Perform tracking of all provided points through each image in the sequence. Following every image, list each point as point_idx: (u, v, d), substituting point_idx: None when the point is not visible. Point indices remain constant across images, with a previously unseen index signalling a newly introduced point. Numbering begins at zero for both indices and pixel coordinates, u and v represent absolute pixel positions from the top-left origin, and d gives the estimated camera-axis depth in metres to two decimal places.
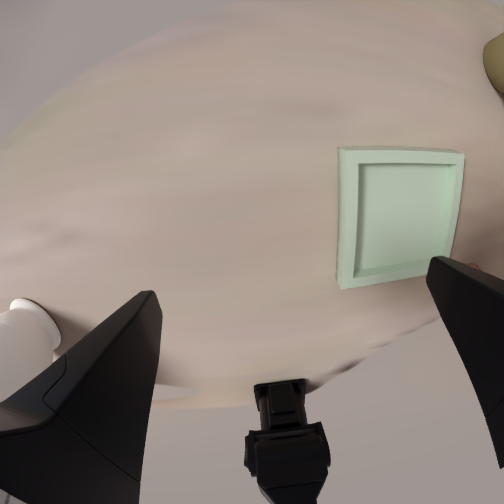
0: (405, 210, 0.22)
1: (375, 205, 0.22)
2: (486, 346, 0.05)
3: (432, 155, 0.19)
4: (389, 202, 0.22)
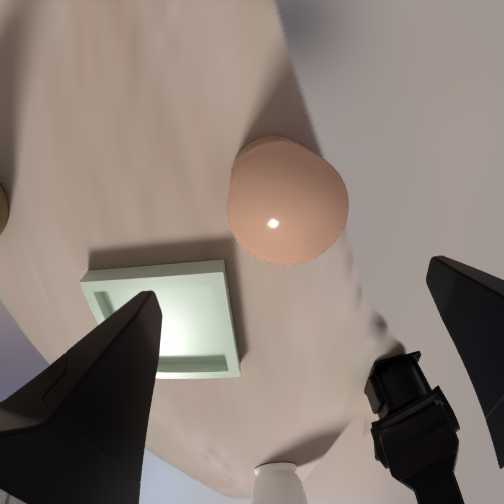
0: None
1: (162, 349, 0.25)
2: (486, 346, 0.05)
3: (99, 319, 0.22)
4: None
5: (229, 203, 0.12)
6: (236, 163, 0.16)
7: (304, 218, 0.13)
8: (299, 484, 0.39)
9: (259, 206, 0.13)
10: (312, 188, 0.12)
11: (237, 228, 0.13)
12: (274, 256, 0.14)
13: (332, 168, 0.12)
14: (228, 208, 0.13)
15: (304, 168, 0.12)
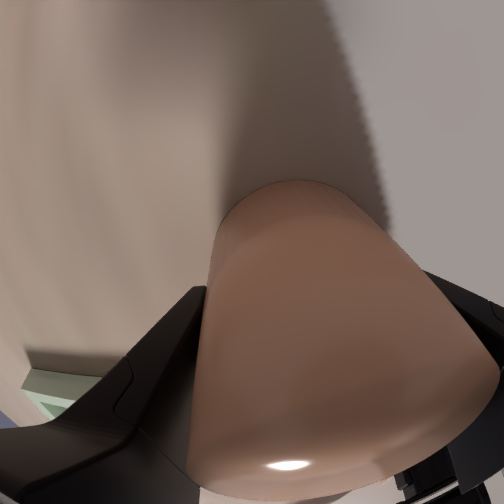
0: None
1: None
2: None
3: None
4: None
5: (191, 473, 0.03)
6: (214, 273, 0.06)
7: (383, 461, 0.04)
8: None
9: (277, 473, 0.03)
10: (428, 423, 0.03)
11: (221, 489, 0.04)
12: (303, 496, 0.05)
13: (496, 372, 0.03)
14: (191, 475, 0.03)
15: (432, 400, 0.03)
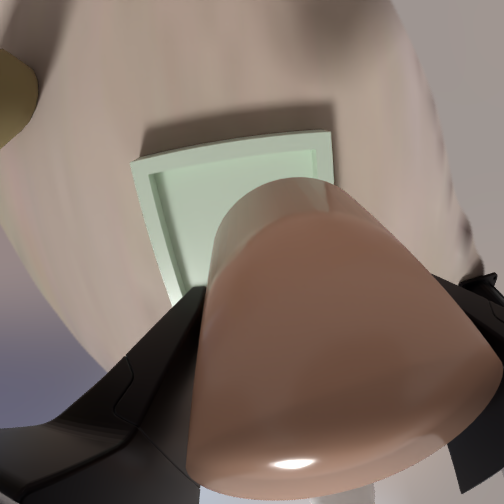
0: None
1: None
2: None
3: (149, 221, 0.17)
4: None
5: (191, 471, 0.03)
6: (214, 270, 0.06)
7: (385, 459, 0.04)
8: None
9: (278, 472, 0.03)
10: (432, 420, 0.03)
11: (221, 487, 0.04)
12: (304, 495, 0.05)
13: (499, 368, 0.03)
14: (191, 473, 0.03)
15: (436, 395, 0.03)
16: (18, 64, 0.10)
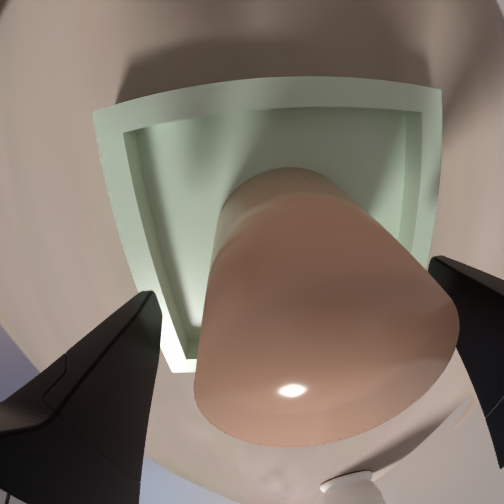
0: None
1: None
2: (486, 346, 0.05)
3: (123, 221, 0.09)
4: None
5: (197, 391, 0.05)
6: (218, 239, 0.08)
7: (364, 395, 0.05)
8: (381, 495, 0.26)
9: (269, 393, 0.05)
10: (396, 350, 0.05)
11: (222, 420, 0.05)
12: (296, 440, 0.06)
13: (450, 304, 0.04)
14: (197, 397, 0.05)
15: (391, 316, 0.04)
16: None
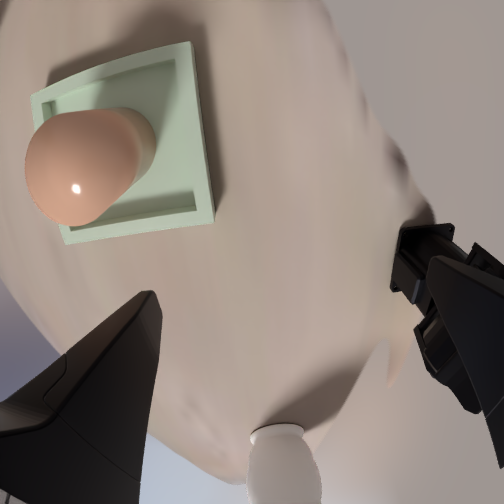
0: None
1: None
2: (486, 346, 0.05)
3: None
4: None
5: (25, 173, 0.10)
6: None
7: (78, 176, 0.11)
8: (309, 452, 0.32)
9: (44, 171, 0.11)
10: (78, 145, 0.10)
11: (34, 194, 0.11)
12: (65, 217, 0.12)
13: (92, 121, 0.10)
14: (26, 177, 0.11)
15: (69, 129, 0.10)
16: None
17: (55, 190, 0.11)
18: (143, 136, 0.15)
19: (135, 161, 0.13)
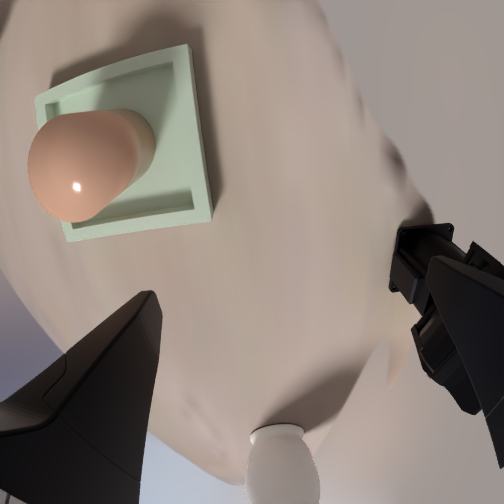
0: None
1: None
2: (486, 346, 0.05)
3: None
4: None
5: (28, 171, 0.11)
6: None
7: (78, 174, 0.12)
8: (308, 453, 0.32)
9: (45, 169, 0.11)
10: (78, 145, 0.11)
11: (36, 191, 0.12)
12: (66, 214, 0.12)
13: (91, 122, 0.10)
14: (28, 175, 0.11)
15: (69, 129, 0.10)
16: None
17: (56, 188, 0.12)
18: (142, 136, 0.15)
19: (133, 160, 0.14)
